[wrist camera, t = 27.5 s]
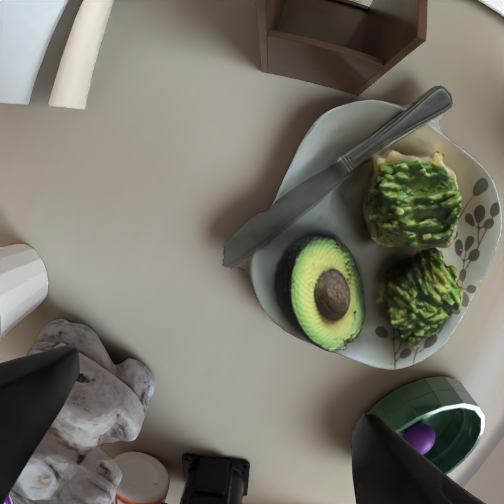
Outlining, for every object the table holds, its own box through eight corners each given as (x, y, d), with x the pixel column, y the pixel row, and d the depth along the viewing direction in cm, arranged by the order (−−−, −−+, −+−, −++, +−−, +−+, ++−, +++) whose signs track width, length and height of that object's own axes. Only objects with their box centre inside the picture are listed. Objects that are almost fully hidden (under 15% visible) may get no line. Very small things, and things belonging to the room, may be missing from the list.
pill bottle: (141, 441, 27) (136, 486, 30) (94, 464, 22) (99, 506, 25) (183, 480, 24) (170, 518, 27) (136, 510, 19) (134, 542, 22)
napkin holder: (358, 95, 18) (426, 40, 8) (261, 71, 18) (254, -9, 8) (371, 13, 16) (425, -65, 7) (282, -10, 16) (287, -105, 7)
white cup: (-4, 282, 23) (-54, 308, 16) (11, 220, 21) (-48, 237, 14) (43, 326, 23) (-4, 364, 17) (63, 266, 22) (6, 297, 15)
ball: (442, 440, 21) (434, 413, 23) (433, 457, 19) (424, 427, 20) (413, 449, 23) (405, 422, 25) (401, 464, 21) (392, 436, 22)
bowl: (438, 454, 25) (452, 481, 21) (337, 468, 26) (343, 501, 21) (482, 367, 22) (505, 393, 18) (368, 377, 23) (383, 413, 18)
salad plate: (332, 33, 17) (346, 1, 12) (518, 168, 18) (556, 170, 14) (206, 286, 22) (190, 315, 17) (409, 374, 23) (430, 409, 18)
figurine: (139, 434, 26) (84, 557, 11) (43, 372, 25) (-44, 465, 10) (177, 368, 23) (107, 531, 9) (60, 294, 22) (-72, 390, 8)
